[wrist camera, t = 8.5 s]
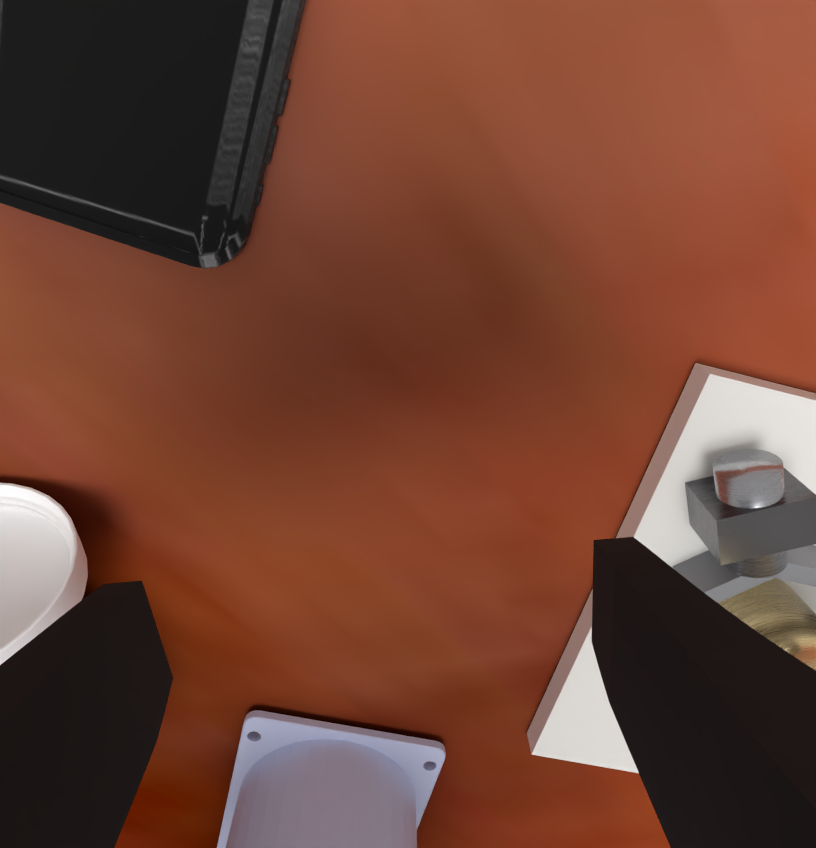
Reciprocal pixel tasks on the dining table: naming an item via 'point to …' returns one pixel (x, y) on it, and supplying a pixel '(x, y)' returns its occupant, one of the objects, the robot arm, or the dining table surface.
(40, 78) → the phone
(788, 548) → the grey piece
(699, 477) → the base plate
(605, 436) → the dining table surface
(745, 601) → the cylinder
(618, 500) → the dining table surface
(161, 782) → the dining table surface
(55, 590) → the spread jar
